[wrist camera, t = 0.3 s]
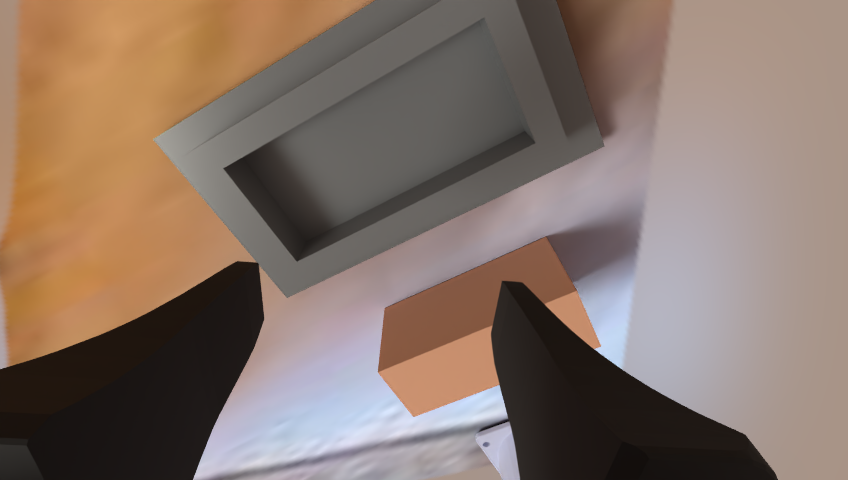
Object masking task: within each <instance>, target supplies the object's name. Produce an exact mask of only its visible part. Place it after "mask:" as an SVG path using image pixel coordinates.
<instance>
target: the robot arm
mask: <svg viewBox="0 0 848 480" xmlns="http://www.w3.org/2000/svg"><path fill="white" fill-rule="evenodd" d="M263 321H264V312H263V302H262V292H261V282H260V273H259V263H254V262H240V261H237V262H235V263H233V264H231V265H229V266H228V267H226V268H224V269H223V270H221V271H219V272H218V273H216V274H214V275H213V276H211V277H210V278H208V279H206V280H205V281H203V282H201V283H200V284H198V285H196V286H195V287H193V288H191V289H190V290H188V291H186V292H185V293H183V294H181V295H180V296H178V297H176V298H174V299H172V300H171V301H169V302H167V303H165V304H163V305H161V306H160V307H158V308H156V309H154V310H152V311H150V312H149V313H147V314H145V315H143V316H141V317H139V318H137V319H135V320H133V321H130V322H128V323H126V324H124V325H122V326H119V327H117V328H115V329H113V330H111V331H108V332H106V333H104V334H101V335H99V336H96V337H93V338H91V339H88V340H86V341H83V342H80V343H78V344H75V345H73V346H70V347H67V348H65V349H62V350H59V351H57V352H54V353H51V354H48V355H45V356H42V357H39V358H36V359H33V360H29V361H26V362H23V363H20V364H16V365H13V366H10V367H6V368H3V369H0V480H193V478H194V475H195V473H196V470H197V467H198V465H199V462H200V459H201V457H202V454H203V452H204V449H205V447H206V444H207V442H208V439H209V437H210V434H211V432H212V429H213V427H214V425H215V423H216V421H217V419H218V417H219V414H220V413H221V411H222V409H223V407H224V405H225V403H226V401H227V399H228V397H229V395H230V393H231V392H232V390H233V388H234V386H235V384H236V382H237V380H238V378H239V376H240V374H241V373H242V371H243V369H244V367H245V365H246V363H247V361H248V359H249V357H250V355H251V353H252V351H253V349H254V347H255V344H256V341H257V339H258V336H259V333H260V330H261V327H262V324H263ZM491 341H492V350H493V358H494V364H495V369H496V373H497V377H498V380H499V384H500V388H501V392H502V396H503V400H504V403H505V407H506V411H507V415H508V419H509V422H506V423H503V424H500V425H498V426H495V427H492V428H489V429H486V430H484V431H481V432H479V433H477V434H476V441H477V443H478V444H479V446H480V447H481V449H482V450H483V451H484V453H485V454H486V456H487V457H488V458H489V460H490V461H491V462H492V464H493V465H494V467H495V468H496V469H497V471H498V472H499V473H500V475H501V478H502V480H778V479H777V476H776V474H775V472H774V471H773V470H772V469H771V467H770V466H769V465H768V463H767V462H766V461H765V459H763V457H762V456H761V455H760V453H759V452H758V450H757V449H756V448H755V447H754V445H753V444H752V443H751V442H750V440H749V439H748V438H747V436H746V435H744V434H743V433H740V432H738V431H736V430H734V429H731V428H729V427H727V426H725V425H723V424H721V423H718V422H716V421H714V420H712V419H710V418H707V417H705V416H703V415H701V414H698V413H697V412H695V411H693V410H691V409H688V408H687V407H685V406H683V405H681V404H679V403H677V402H675V401H673V400H672V399H670V398H668V397H666V396H664V395H662V394H661V393H659V392H657V391H655V390H654V389H652V388H650V387H649V386H647V385H645V384H644V383H642V382H641V381H639V380H637V379H636V378H634V377H633V376H631V375H629V374H628V373H626V372H625V371H623V370H622V369H620V368H619V367H617V366H616V365H615V364H613V363H612V362H611V361H609V360H608V359H606V358H605V357H604V356H602V355H601V354H600V353H598V352H597V351H596V350H594V349H593V348H592V347H591V346H589V345H588V344H587V343H586V342H585V341H583V340H582V339H581V338H580V337H579V336H578V335H576V334H575V333H574V332H573V331H572V330H571V329H570V328H569V327H567V326H566V325H565V324H564V323H563V322H562V321H561V320H560V319H559V318H558V317H557V316H556V315H555V314H554V313H553V312H552V311H551V310H550V309H549V308H548V307H547V306H546V305H545V304H544V303H543V302H542V301H541V300H540V299H539V298H538V297H537V296H536V295H535V294H534V293H533V292H532V291H531V290H530V289H529V288H528V287H527V286H526V285H525V284H524V283H523V282H514V281H502V283H501V288H500V292H499V297H498V302H497V307H496V311H495V316H494V321H493V325H492V330H491Z"/></svg>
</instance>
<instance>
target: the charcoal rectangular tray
mask: <svg viewBox="0 0 848 480" xmlns="http://www.w3.org/2000/svg"><path fill="white" fill-rule="evenodd" d="M153 140H154V141H155V142H156V143H157V144H158V146H159V147H160V148H161V149H162V150H163V152H164V153H165V154H166V155H167V156H168V158H169V159H170V160H171V161H172V162H173V163H174V165H175V166H176V167H177V168H178V169H179V171H180V172H181V173H182V174H183V175H184V176H185V178H186V179H187V180H188V181H189V182H190V184H191V185H192V186H193V187H194V188H195V190H196V191H197V192H198V193H199V194H200V195H201V197H202V198H203V199H204V200H205V201H206V203H207V204H208V205H209V206H210V207H211V208H212V210H213V211H214V212H215V213H216V214H217V216H218V217H219V218H220V219H221V220H222V221H223V223H224V224H225V225H226V226H227V227H228V229H229V230H230V231H231V232H232V233H233V235H234V236H235V237H236V238H237V239H238V240H239V242H240V243H241V244H242V245H243V246H244V248H245V249H246V250H247V251H248V252H249V253H250V255H251V256H252V257H253V258H254V259H255V261H256V262H257V263H259V265H260V267H261V268H262V269H263V270H264V271H265V272H266V274H267V275H268V276H269V277H270V278H271V280H272V281H273V282H274V283H275V284H276V285H277V287H278V288H279V289H280V290H281V291H282V293H283V294H284V295H285V296H286V297H287V298H288V297H290V296H292V295H294V294H296V293H298V292H301V291H303V290H305V289H307V288H309V287H311V286H313V285H315V284H317V283H319V282H321V281H324V280H326V279H328V278H330V277H332V276H334V275H336V274H338V273H340V272H342V271H344V270H347V269H349V268H351V267H353V266H355V265H357V264H359V263H361V262H363V261H365V260H367V259H370V258H372V257H374V256H376V255H378V254H380V253H382V252H384V251H386V250H388V249H390V248H393V247H395V246H397V245H399V244H401V243H403V242H405V241H407V240H409V239H411V238H414V237H416V236H418V235H420V234H422V233H424V232H426V231H428V230H430V229H432V228H434V227H437V226H439V225H441V224H443V223H445V222H447V221H449V220H451V219H453V218H455V217H457V216H460V215H462V214H464V213H466V212H468V211H470V210H472V209H474V208H476V207H478V206H480V205H483V204H485V203H487V202H489V201H491V200H493V199H495V198H497V197H499V196H501V195H503V194H506V193H508V192H510V191H512V190H514V189H516V188H518V187H520V186H522V185H524V184H527V183H529V182H531V181H533V180H535V179H537V178H539V177H541V176H543V175H545V174H547V173H550V172H552V171H554V170H556V169H558V168H560V167H562V166H564V165H566V164H568V163H570V162H573V161H575V160H577V159H579V158H581V157H583V156H585V155H587V154H589V153H591V152H593V151H596V150H598V149H600V148H602V147H604V143H603V140H602V137H601V134H600V131H599V128H598V125H597V122H596V119H595V116H594V113H593V110H592V107H591V104H590V101H589V98H588V95H587V92H586V89H585V86H584V83H583V80H582V77H581V74H580V71H579V68H578V65H577V62H576V59H575V56H574V53H573V50H572V47H571V43H570V40H569V37H568V34H567V31H566V28H565V25H564V22H563V19H562V16H561V13H560V10H559V7H558V4H557V1H556V0H375V1H374V2H372V3H370V4H369V5H367V6H366V7H364V8H362V9H361V10H359V11H358V12H356V13H354V14H353V15H351V16H350V17H348V18H346V19H345V20H343V21H342V22H340V23H338V24H337V25H335V26H334V27H332V28H330V29H329V30H327V31H326V32H324V33H322V34H321V35H319V36H318V37H316V38H314V39H313V40H311V41H310V42H308V43H306V44H305V45H303V46H302V47H300V48H298V49H297V50H295V51H294V52H292V53H290V54H289V55H287V56H286V57H284V58H282V59H281V60H279V61H278V62H276V63H274V64H273V65H271V66H270V67H268V68H266V69H265V70H263V71H262V72H260V73H258V74H257V75H255V76H254V77H252V78H250V79H249V80H247V81H246V82H244V83H242V84H241V85H239V86H238V87H236V88H234V89H233V90H231V91H230V92H228V93H226V94H225V95H223V96H222V97H220V98H218V99H217V100H215V101H214V102H212V103H210V104H209V105H207V106H206V107H204V108H202V109H201V110H199V111H198V112H196V113H194V114H193V115H191V116H190V117H188V118H186V119H185V120H183V121H181V122H180V123H178V124H177V125H175V126H173V127H172V128H170V129H169V130H167V131H165V132H164V133H162V134H161V135H159V136H157V137H156V138H154V139H153Z"/></svg>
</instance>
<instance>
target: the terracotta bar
mask: <svg viewBox="0 0 848 480" xmlns="http://www.w3.org/2000/svg"><path fill="white" fill-rule="evenodd" d="M502 281H514V282H523V283H524V284H525V285H526V286H527V287H528V288H529V289H530V290H531V291H532V292H533V293H534V294H535V295H536V296H537V297H538V298H539V299H540V300H541V301H542V302H543V303H544V304H545V305H546V306H547V307H548V308H549V309H550V310H551V311H552V312H553V313H554V314H555V315H556V316H557V317H558V318H559V319H560V320H561V321H562V322H563V323H564V324H565V325H566V326H567V327H569V328H570V329H571V330H572V331H573V332H574V333H575V334H576V335H578V336H579V337H580V338H581V339H582V340H583V341H585V342H586V343H587V344H588V345H589V346H591V347H592V348H593V349H595V348H598V347H601V345H600V343H599V340H598V338H597V336H596V333H595V331H594V329H593V327H592V324H591V322H590V320H589V317H588V315H587V313H586V310H585V308H584V306H583V304H582V301H581V299H580V297H579V294H578V292H577V290H576V288H575V287H574V285H573V283H572V281H571V280H570V278H569V276H568V274H567V273H566V271H565V269H564V267H563V265H562V264H561V262H560V260H559V258H558V257H557V255H556V253H555V251H554V250H553V248H552V246H551V244H550V243H549V241H548V239H547V237H544V238H542V239H540V240H537V241H535V242H533V243H531V244H528V245H526V246H524V247H522V248H519V249H517V250H515V251H513V252H510V253H508V254H506V255H504V256H501V257H499V258H497V259H495V260H492V261H490V262H488V263H486V264H483V265H481V266H479V267H477V268H474V269H472V270H470V271H468V272H465V273H463V274H461V275H459V276H456V277H454V278H452V279H450V280H448V281H445V282H443V283H441V284H439V285H436V286H434V287H432V288H430V289H427V290H425V291H423V292H421V293H418V294H416V295H414V296H412V297H409V298H407V299H405V300H403V301H400V302H398V303H396V304H394V305H391V306H389V307H387V308H385V311H384V320H383V329H382V339H381V348H380V357H379V366H378V373H379V374H380V376H381V377H382V378H383V379H384V381H385V382H386V383H387V384H388V386H389V387H390V388H391V389H392V391H393V392H394V393H395V394H396V396H397V397H398V398H399V399H400V401H401V402H402V403H403V404H404V406H405V407H406V408H407V409H408V411H409V412H410V413H411V414H412V416H413V417H415V416H418V415H420V414H423V413H426V412H428V411H431V410H433V409H436V408H439V407H441V406H444V405H447V404H449V403H452V402H455V401H457V400H460V399H463V398H465V397H468V396H471V395H473V394H476V393H479V392H481V391H484V390H487V389H489V388H492V387H495V386H497V385H500V384H499V380H498V377H497V373H496V369H495V364H494V358H493V350H492V341H491V330H492V325H493V321H494V316H495V311H496V307H497V302H498V297H499V292H500V288H501V283H502Z"/></svg>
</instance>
